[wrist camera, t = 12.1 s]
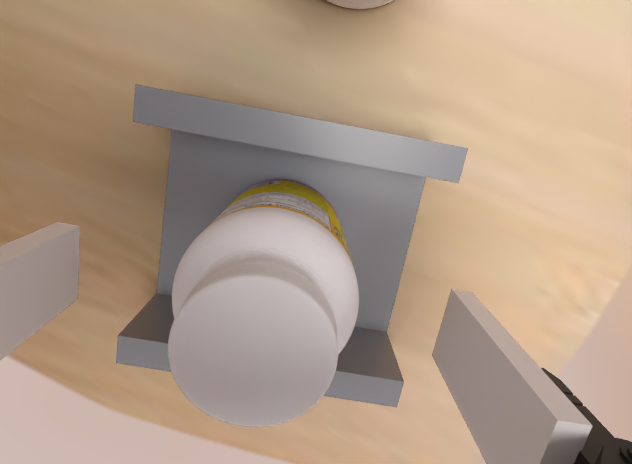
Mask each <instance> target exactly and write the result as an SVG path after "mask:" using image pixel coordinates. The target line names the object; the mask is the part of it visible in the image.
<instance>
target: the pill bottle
mask: <svg viewBox="0 0 632 464" xmlns="http://www.w3.org/2000/svg"><path fill="white" fill-rule="evenodd" d="M327 1H328V2H331V3H333V4H335V5H338V6H341V7H345V8H351V9H369V8H375V7H379V6H382V5H385V4H387V3H390V2H392V1H394V0H327Z"/></svg>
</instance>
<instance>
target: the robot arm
mask: <svg viewBox="0 0 632 464" xmlns="http://www.w3.org/2000/svg"><path fill="white" fill-rule="evenodd" d="M79 248H80V226H79V225H73V224H68V223H62V222H55V223H53V224H51V225H48V226H46V227H44V228H41V229H39V230H37V231H34V232H32V233H30V234H27V235H25V236H23V237H20V238H18V239H16V240H13V241H11V242H8V243H6V244H4V245H1V246H0V360H1V359H3V358H4V357H5V356H7V355H8V354H9V353H10V352H12V351H13V350H14V349H15V348H17V347H18V346H19V345H20V344H22V343H23V342H24V341H26V340H27V339H28V338H29V337H31V336H32V335H33V334H34V333H36V332H37V331H38V330H39V329H41V328H42V327H43V326H44V325H46V324H47V323H48V322H49V321H51V320H52V319H53V318H54V317H56V316H57V315H58V314H59V313H61V312H62V311H63V310H64V309H66V308H67V307H68V306H70V305H71V304H72V303H73V302H75V301H76V300H77V299H78V279H79ZM432 356H433V358H434V360H435V362H436V364H437V366H438V368H439V370H440V372H441V374H442V376H443V378H444V380H445V382H446V384H447V386H448V388H449V390H450V392H451V394H452V396H453V398H454V400H455V402H456V404H457V406H458V408H459V410H460V412H461V414H462V416H463V418H464V420H465V422H466V424H467V426H468V428H469V430H470V432H471V434H472V436H473V438H474V440H475V442H476V444H477V446H478V448H479V450H480V452H481V454H482V456H483V458H484V460H485V462H486V464H632V442H630V441H628V440H623V439H619V438H614V437H613V436H612V434H611V433H610V432H609V431H608V430H607V429H606V428H605V427H604V426H603V425H602V424H601V423H600V422H599V421H598V420H597V419H596V417H595V416H594V415H593V414H592V413H591V412H590V411H589V410H588V409H587V408H586V407H585V406H583V404H582V402H581V401H580V400H579V399H578V398H577V397H576V396H573V393H572V392H571V391H570V390H569V389H568V388H567V387H566V385H565V384H564V383H563V382H562V381H561V380H560V379H558V378H557V377H555V376H554V375H552V374H551V373H550V372H548V371H547V370H545V369H544V368H540V367H539V366H538V365H537V364H536V362H535V361H534V360H533V359H532V358H531V357H530V356H529V355H528V354H527V352H526V351H525V350H524V349H523V348H522V347H521V346H520V345H519V344H518V343H517V341H516V340H515V339H514V338H513V337H512V336H511V335H510V334H509V333H508V331H507V330H506V329H505V328H504V327H503V326H502V325H501V324H500V323H499V322H498V320H497V319H496V318H495V317H494V316H493V315H492V314H491V313H490V312H489V310H488V309H487V308H486V307H485V306H484V305H483V304H482V303H481V302H480V301H479V299H478V298H477V297H476V296H475V295H474V294H473V293H472V292H467V291H461V290H455V289H452V290H451V293H450V296H449V300H448V303H447V307H446V310H445V313H444V317H443V320H442V323H441V327H440V330H439V333H438V337H437V340H436V343H435V347H434V350H433V354H432Z"/></svg>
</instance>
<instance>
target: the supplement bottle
mask: <svg viewBox="0 0 632 464" xmlns="http://www.w3.org/2000/svg"><path fill="white" fill-rule="evenodd" d="M358 308H359V289H358V283H357V278H356V274H355V271H354V267H353V264H352V261H351V257H350V254H349V251H348V248H347V244H346V241H345V237H344V234H343V231H342V227H341V224H340V221H339V218H338V216H337V214H336V212H335V210H334V208H333V206H332V205H331V204H330V202H329V201H328V200H327V199H326V198H325V196H324V195H322V194H321V193H320V192H319V191H317V190H316V189H314V188H313V187H311V186H309V185H307V184H305V183H302V182H299V181H296V180H291V179H272V180H267V181H263V182H260V183H258V184H255V185H253V186H252V187H250V188H248V189H247V190H245V191H244V192H243V193H241V194H240V195H239V196H238V197H237V198H236V199H235V200H234V201H233V202H232V203H231V204H230V205H229V206H228V207H227V208H226V209H225V210H224V211H223V212H222V213H221V214H220V215H219V216H218V217H217V218H216V219H215V220H214V221H213V222H212V223H211V224H210V225H209V226H208V227H207V228H206V229H205V230H204V231H203V232H202V233H201V234H200V235H199V236H198V237H197V238H196V239H195V240H194V241H193V242H192V243H191V245H190V246H189V247H188V249H187V250H186V252H185V253H184V255H183V257H182V259H181V261H180V263H179V265H178V268H177V270H176V273H175V277H174V282H173V288H172V310H173V315H174V321H173V324H172V327H171V330H170V334H169V340H168V359H169V364H170V369H171V372H172V374H173V377H174V379H175V381H176V383H177V385H178V386H179V388H180V389H181V391H182V392H183V394H184V395H185V396H186V397H187V399H188V400H189V401H190V402H191V403H192V404H194V405H195V406H196V407H197V408H198V409H200V410H201V411H203V412H204V413H206V414H207V415H209V416H211V417H213V418H216V419H218V420H220V421H223V422H226V423H229V424H233V425H238V426H246V427H266V426H273V425H277V424H281V423H284V422H287V421H289V420H292V419H294V418H296V417H299V416H300V415H302V414H303V413H305V412H306V411H308V410H309V409H310V408H312V407H313V406H314V405H315V404H316V403H317V402H318V401H319V400H320V399H321V398H322V397H323V395H324V394H325V392H326V391H327V390H328V388H329V386H330V384H331V382H332V380H333V378H334V375H335V372H336V367H337V361H338V355H339V353H340V352H341V351H342V349H343V348H344V347H345V345H346V343H347V342H348V340H349V338H350V336H351V334H352V332H353V329H354V327H355V323H356V320H357V315H358Z"/></svg>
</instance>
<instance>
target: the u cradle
mask: <svg viewBox="0 0 632 464" xmlns="http://www.w3.org/2000/svg"><path fill="white" fill-rule="evenodd" d="M133 122H136V123H141V124H146V125H152V126H157V127H162V128H168V129H172V134H171V144H170V155H169V166H168V176H167V187H166V198H165V208H164V219H163V230H162V241H161V251H160V262H159V273H158V283H157V293H156V295H155V296H154V297H153V298H152V299H151V300H150V301H149V302H148V303H147V304H146V306H145V307H144V308H143V309H142V310H141V311H140V312H139V313H138V314H137V315H136V316H135V318H134V319H133V320H132V321H131V322H130V323H129V324H128V325H127V326H126V327H125V328H124V330H123V331H122V332H121V333H120V334H119V335H118V342H117V357H116V363H119V364H126V365H132V366H138V367H145V368H151V369H157V370H164V371H170V372H171V369H170V364H169V359H168V340H169V334H170V330H171V327H172V324H173V321H174V315H173V310H172V288H173V282H174V277H175V273H176V270H177V268H178V265H179V263H180V261H181V259H182V257H183V255H184V253H185V252H186V250H187V249H188V247H189V246H190V245H191V243H192V242H193V241H194V240H195V239H196V238H197V237H198V236H199V235H200V234H201V233H202V232H203V231H204V230H205V229H206V228H207V227H208V226H209V225H210V224H211V223H212V222H213V221H214V220H215V219H216V218H217V217H218V216H219V215H220V214H221V213H222V212H223V211H224V210H225V209H226V208H227V207H228V206H229V205H230V204H231V203H232V202H233V201H234V200H235V199H236V198H237V197H238V196H239V195H240V194H241V193H243V192H244V191H245V190H247V189H248V188H250V187H252V186H253V185H255V184H258V183H260V182H263V181H267V180H272V179H291V180H296V181H299V182H302V183H305V184H307V185H309V186H311V187H313V188H314V189H316V190H317V191H319V192H320V193H321V194H322V195H324V196H325V198H326V199H327V200H328V201H329V202H330V204H331V205H332V206H333V208H334V210H335V212H336V214H337V216H338V218H339V221H340V224H341V227H342V231H343V234H344V237H345V241H346V244H347V248H348V251H349V254H350V257H351V261H352V264H353V267H354V271H355V274H356V278H357V283H358V289H359V308H358V315H357V320H356V323H355V327H354V329H353V332H352V334H351V336H350V338H349V340H348V342H347V343H346V345H345V347H344V348H343V349H342V351H341V352H340V353H339V355H338V361H337V367H336V372H335V375H334V378H333V380H332V382H331V384H330V386H329V388H328V390H327V391H326V392H325V394H324V395H323V396H328V397H335V398H341V399H347V400H354V401H360V402H366V403H373V404H379V405H385V406H392V407H397V405H398V401H399V397H400V394H401V390H402V386H403V383H404V381H403V378H402V375H401V372H400V369H399V366H398V363H397V361H396V358H395V355H394V352H393V349H392V346H391V343H390V340H389V337H388V334H387V328H388V325H389V321H390V317H391V313H392V309H393V305H394V301H395V297H396V293H397V289H398V285H399V281H400V277H401V273H402V270H403V266H404V262H405V258H406V254H407V250H408V246H409V242H410V238H411V234H412V230H413V226H414V222H415V218H416V214H417V211H418V207H419V203H420V199H421V195H422V191H423V187H424V183H425V179H426V177H428V178H434V179H439V180H444V181H450V182H455V183H459V180H460V176H461V172H462V169H463V165H464V161H465V158H466V154H467V151H468V148H463V147H458V146H453V145H448V144H442V143H437V142H432V141H427V140H422V139H416V138H411V137H406V136H401V135H396V134H390V133H385V132H380V131H375V130H370V129H365V128H359V127H354V126H349V125H344V124H339V123H333V122H328V121H323V120H318V119H313V118H307V117H302V116H297V115H292V114H287V113H282V112H276V111H271V110H266V109H261V108H256V107H250V106H245V105H240V104H235V103H230V102H224V101H219V100H214V99H209V98H204V97H199V96H193V95H188V94H183V93H178V92H173V91H167V90H162V89H157V88H152V87H147V86H141V85H136V84H135V98H134V113H133Z"/></svg>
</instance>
